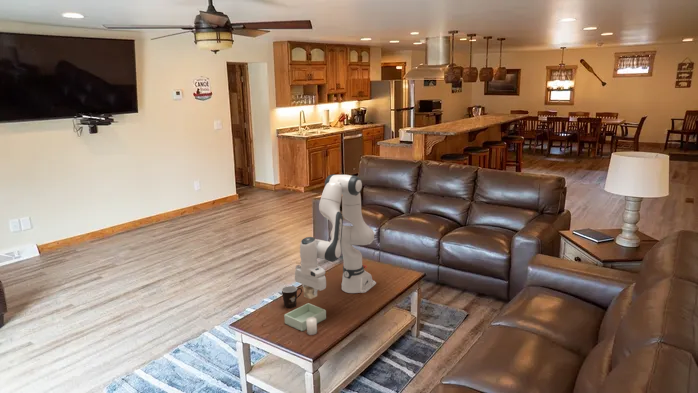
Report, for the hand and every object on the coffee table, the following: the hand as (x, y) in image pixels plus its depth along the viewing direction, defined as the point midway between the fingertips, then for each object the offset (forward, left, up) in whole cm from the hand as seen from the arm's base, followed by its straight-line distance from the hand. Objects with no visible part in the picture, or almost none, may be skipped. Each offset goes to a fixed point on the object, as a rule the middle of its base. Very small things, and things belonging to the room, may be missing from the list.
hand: (310, 293), depth 250 cm
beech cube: (0, 0, -2) cm, 2 cm away
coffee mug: (-4, -19, -14) cm, 24 cm away
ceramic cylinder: (+10, +11, -14) cm, 21 cm away
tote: (+4, 0, -14) cm, 15 cm away
